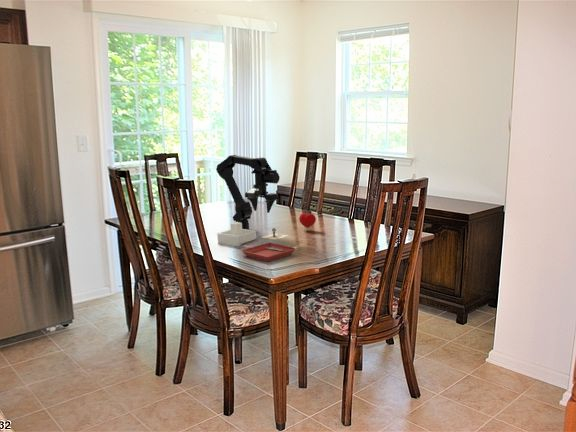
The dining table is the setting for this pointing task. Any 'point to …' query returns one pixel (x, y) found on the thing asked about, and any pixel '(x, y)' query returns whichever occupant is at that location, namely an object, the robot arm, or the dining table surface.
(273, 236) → the stud base
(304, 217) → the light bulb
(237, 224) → the strut
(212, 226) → the dining table surface
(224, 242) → the grey bin
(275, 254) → the plant saucer
